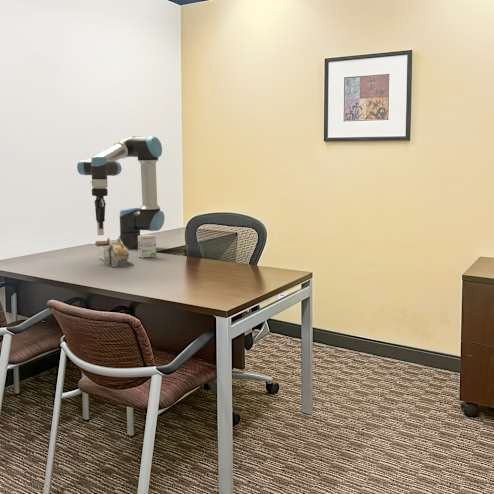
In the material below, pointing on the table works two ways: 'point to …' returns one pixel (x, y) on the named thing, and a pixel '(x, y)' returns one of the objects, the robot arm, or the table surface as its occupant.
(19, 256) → the table surface
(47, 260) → the table surface
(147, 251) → the ink box
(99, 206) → the robot arm
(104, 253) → the white open box
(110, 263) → the stand
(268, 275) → the table surface
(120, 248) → the ball
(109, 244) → the lever
